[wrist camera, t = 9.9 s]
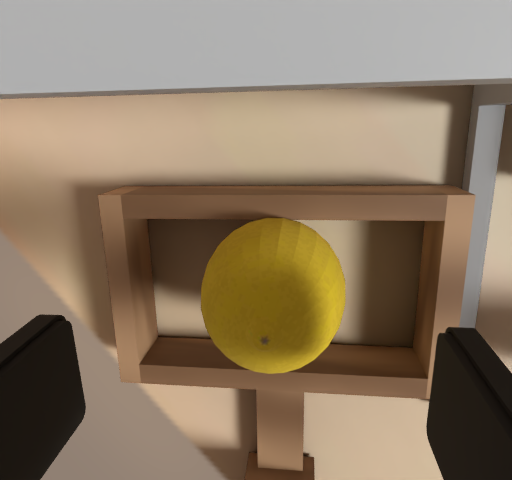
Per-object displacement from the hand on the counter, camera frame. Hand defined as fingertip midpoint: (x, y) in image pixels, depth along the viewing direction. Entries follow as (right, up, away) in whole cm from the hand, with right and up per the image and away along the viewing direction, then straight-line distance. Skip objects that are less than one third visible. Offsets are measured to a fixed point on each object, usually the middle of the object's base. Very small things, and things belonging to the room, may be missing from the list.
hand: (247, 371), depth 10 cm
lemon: (+1, +3, +10) cm, 10 cm away
